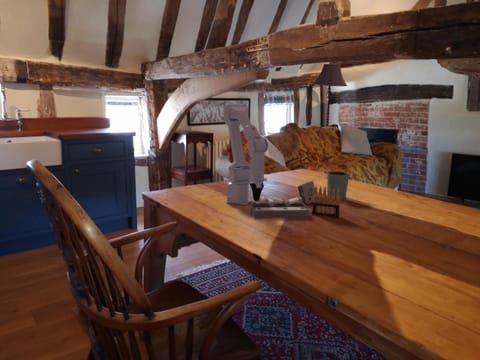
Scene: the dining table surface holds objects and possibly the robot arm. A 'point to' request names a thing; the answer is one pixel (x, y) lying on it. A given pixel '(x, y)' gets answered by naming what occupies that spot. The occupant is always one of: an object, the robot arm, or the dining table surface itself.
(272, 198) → the rocker middle
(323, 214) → the ammunition clip
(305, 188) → the electrical switch
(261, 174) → the robot arm
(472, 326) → the dining table surface
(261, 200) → the rocker left
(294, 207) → the switch panel
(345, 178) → the grey cup
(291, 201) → the rocker right
